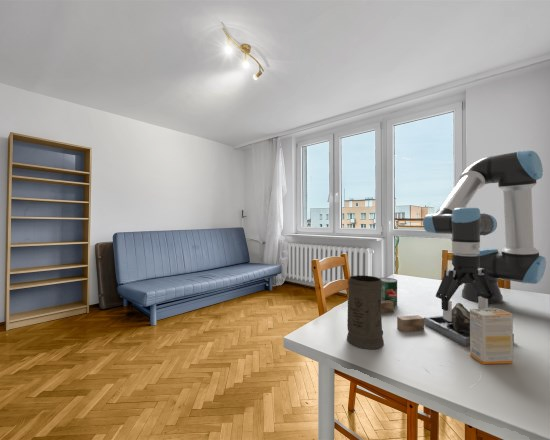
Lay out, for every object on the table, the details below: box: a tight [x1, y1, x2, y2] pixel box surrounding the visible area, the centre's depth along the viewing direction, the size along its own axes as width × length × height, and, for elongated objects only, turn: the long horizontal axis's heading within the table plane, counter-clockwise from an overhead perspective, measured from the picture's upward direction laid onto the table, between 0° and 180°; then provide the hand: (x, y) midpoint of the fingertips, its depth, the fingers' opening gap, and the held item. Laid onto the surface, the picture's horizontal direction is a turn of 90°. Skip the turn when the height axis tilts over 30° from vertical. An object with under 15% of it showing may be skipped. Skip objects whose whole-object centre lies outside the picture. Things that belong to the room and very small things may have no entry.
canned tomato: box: [379, 277, 398, 308], centre depth 116 cm, size 8×8×11 cm
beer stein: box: [346, 274, 385, 350], centre depth 84 cm, size 15×11×20 cm
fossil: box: [446, 302, 470, 332], centre depth 88 cm, size 11×9×10 cm
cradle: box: [381, 300, 425, 333], centre depth 99 cm, size 8×20×4 cm, turn 10°
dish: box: [423, 315, 515, 348], centre depth 88 cm, size 17×17×2 cm
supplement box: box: [469, 308, 514, 365], centre depth 72 cm, size 8×5×13 cm, turn 92°
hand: (465, 318), depth 88 cm, fingers open, 13 cm apart
